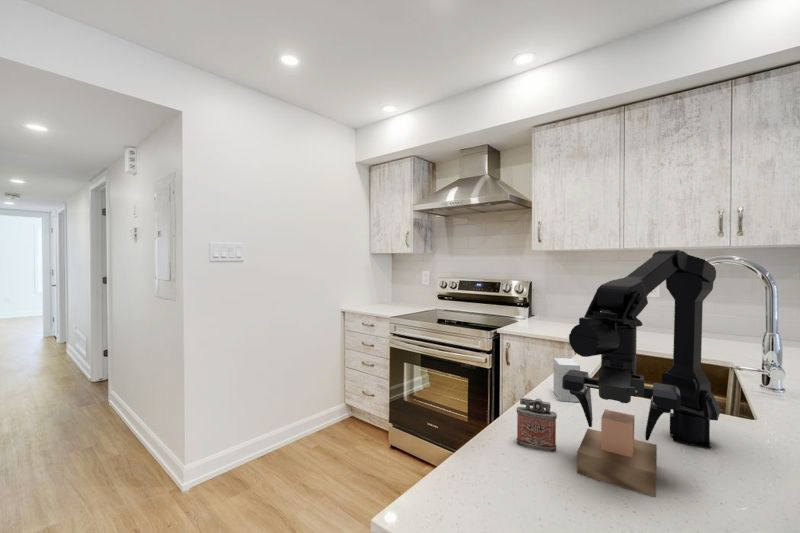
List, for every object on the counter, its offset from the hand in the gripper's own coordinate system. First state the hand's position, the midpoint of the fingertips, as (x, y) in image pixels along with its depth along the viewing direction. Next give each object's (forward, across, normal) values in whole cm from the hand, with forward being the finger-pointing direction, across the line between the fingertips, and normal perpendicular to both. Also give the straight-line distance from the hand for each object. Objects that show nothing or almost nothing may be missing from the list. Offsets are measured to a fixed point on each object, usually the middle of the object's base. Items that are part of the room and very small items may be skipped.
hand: (617, 432), depth 70 cm
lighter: (+7, -15, 0) cm, 17 cm away
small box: (+7, -16, +35) cm, 39 cm away
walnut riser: (+7, 0, 0) cm, 7 cm away
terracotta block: (+3, 0, 0) cm, 3 cm away
